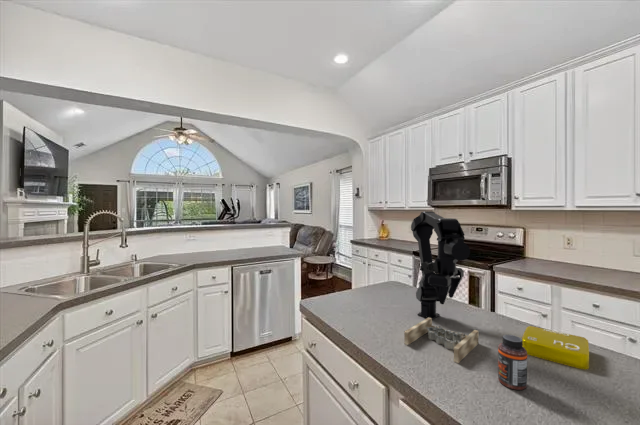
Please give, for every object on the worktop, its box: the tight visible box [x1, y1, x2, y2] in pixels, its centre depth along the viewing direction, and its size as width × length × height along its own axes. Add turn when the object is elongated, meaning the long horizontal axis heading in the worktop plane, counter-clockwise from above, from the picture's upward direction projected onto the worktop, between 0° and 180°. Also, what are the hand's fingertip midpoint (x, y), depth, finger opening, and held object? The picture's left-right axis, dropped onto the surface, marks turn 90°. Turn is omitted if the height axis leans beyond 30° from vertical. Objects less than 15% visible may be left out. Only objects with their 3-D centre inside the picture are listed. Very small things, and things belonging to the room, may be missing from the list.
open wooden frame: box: [403, 317, 480, 364], centre depth 92 cm, size 17×16×4 cm
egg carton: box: [426, 326, 466, 351], centre depth 94 cm, size 11×8×4 cm
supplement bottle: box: [497, 334, 528, 391], centre depth 71 cm, size 6×6×11 cm
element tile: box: [521, 325, 590, 370], centre depth 87 cm, size 15×15×5 cm
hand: (446, 300), depth 100 cm, fingers open, 9 cm apart
